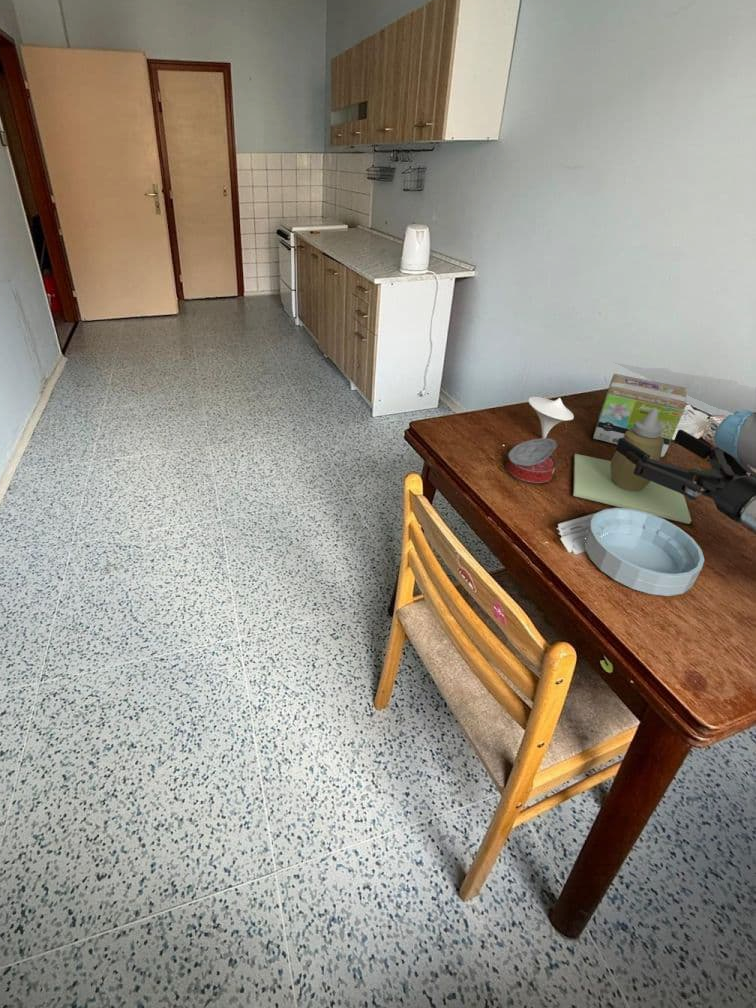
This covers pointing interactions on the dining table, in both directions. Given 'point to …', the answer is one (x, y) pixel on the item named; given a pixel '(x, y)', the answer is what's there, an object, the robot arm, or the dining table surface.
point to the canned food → (532, 460)
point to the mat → (625, 491)
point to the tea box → (639, 408)
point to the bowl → (643, 551)
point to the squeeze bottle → (646, 440)
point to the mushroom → (550, 412)
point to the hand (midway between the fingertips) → (648, 439)
